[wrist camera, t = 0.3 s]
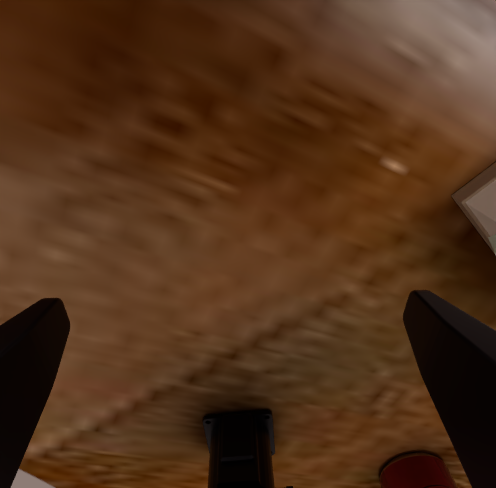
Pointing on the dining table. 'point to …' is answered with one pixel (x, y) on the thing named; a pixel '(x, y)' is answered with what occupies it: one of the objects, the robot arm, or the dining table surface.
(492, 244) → the lid
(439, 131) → the dining table surface
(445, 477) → the soda can
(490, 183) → the box
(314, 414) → the dining table surface
